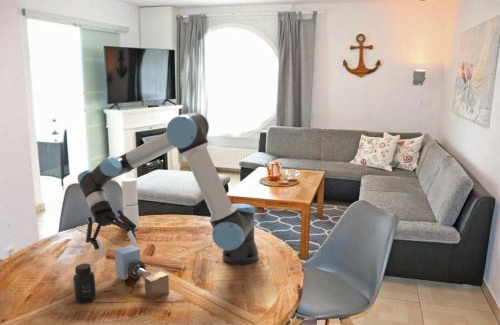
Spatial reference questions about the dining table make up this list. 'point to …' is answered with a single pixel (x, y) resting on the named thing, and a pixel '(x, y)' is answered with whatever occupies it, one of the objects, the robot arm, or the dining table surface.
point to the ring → (133, 267)
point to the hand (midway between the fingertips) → (119, 250)
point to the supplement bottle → (84, 284)
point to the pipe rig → (153, 282)
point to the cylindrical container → (130, 200)
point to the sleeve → (125, 259)
